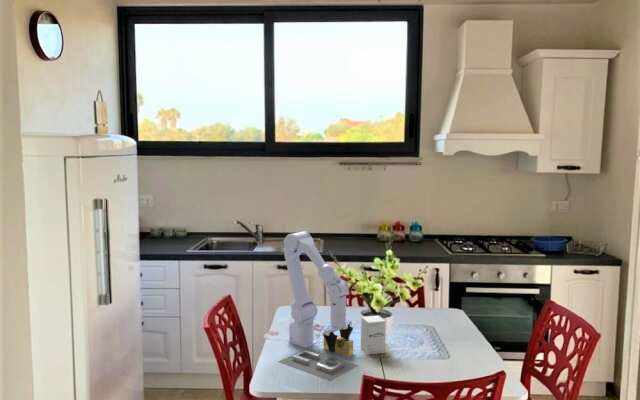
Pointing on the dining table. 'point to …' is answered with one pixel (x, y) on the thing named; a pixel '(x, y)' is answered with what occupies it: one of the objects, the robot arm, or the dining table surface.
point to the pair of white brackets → (335, 363)
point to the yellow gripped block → (342, 346)
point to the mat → (312, 366)
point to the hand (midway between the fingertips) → (338, 348)
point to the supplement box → (373, 334)
